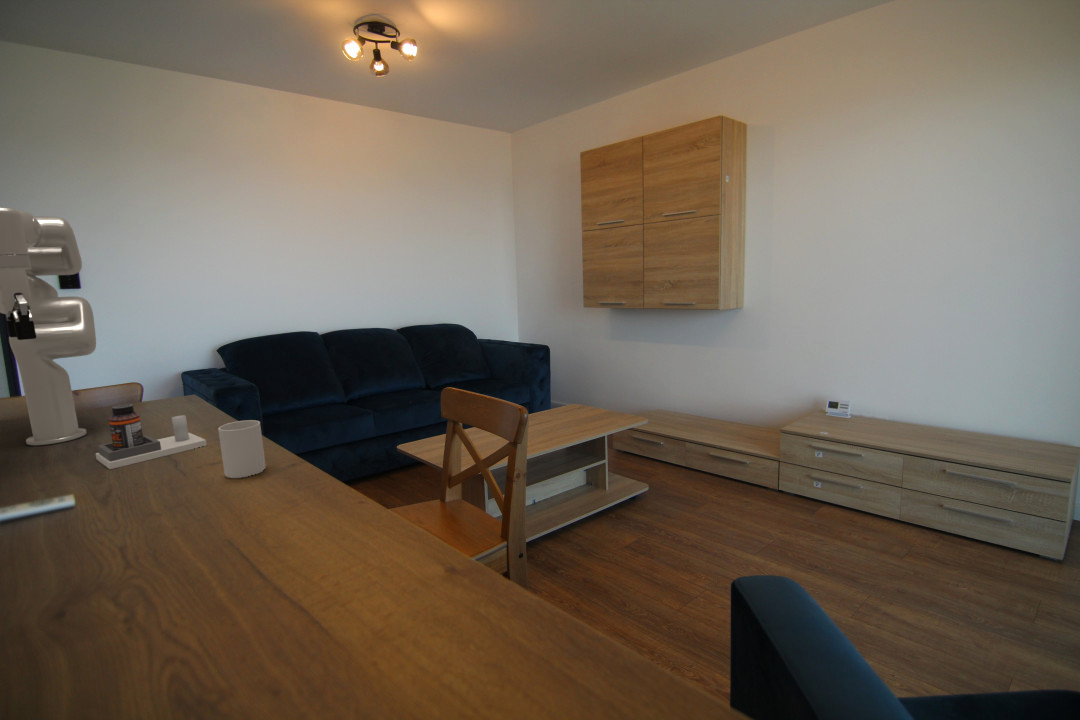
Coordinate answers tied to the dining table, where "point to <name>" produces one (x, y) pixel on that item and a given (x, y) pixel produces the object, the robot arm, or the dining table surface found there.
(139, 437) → the supplement bottle
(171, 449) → the framed tray with peg
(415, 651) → the dining table surface
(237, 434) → the mug
